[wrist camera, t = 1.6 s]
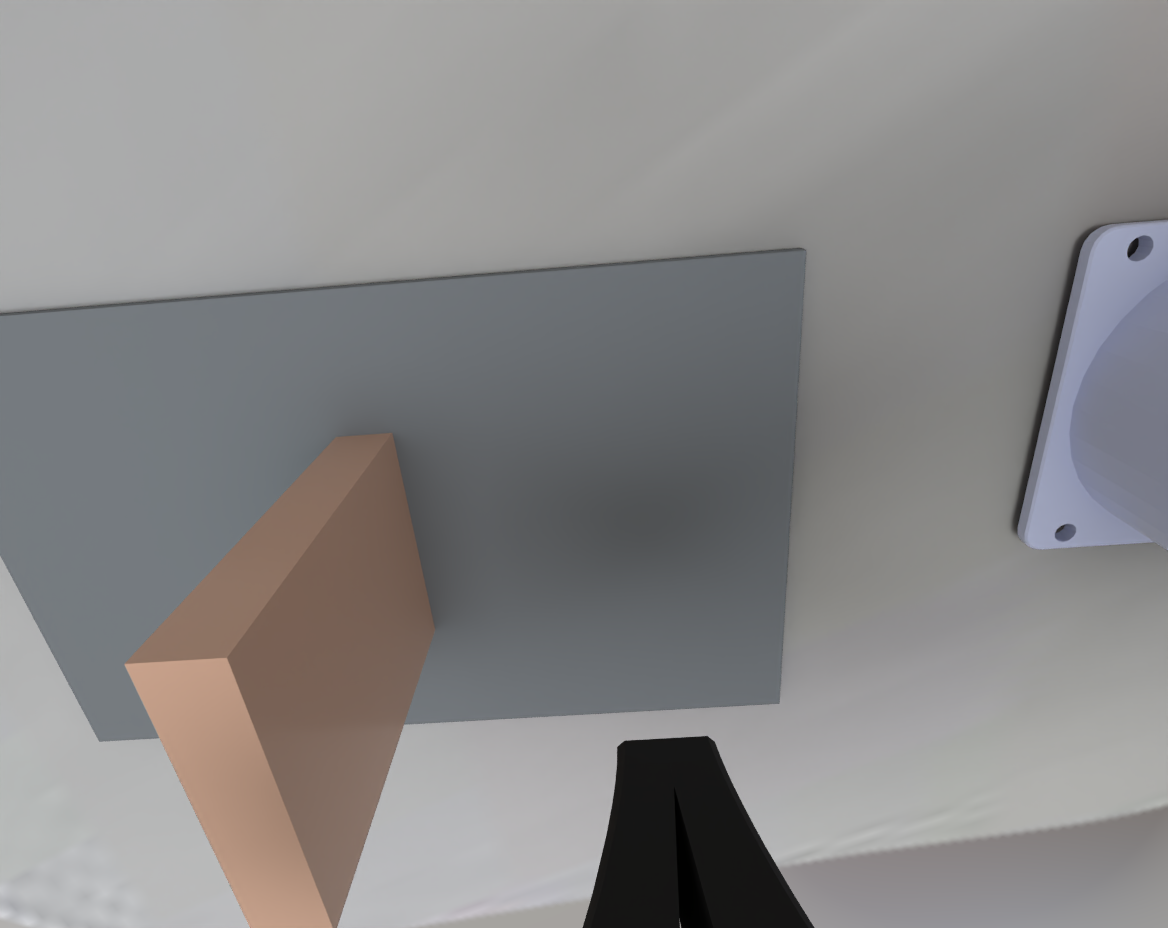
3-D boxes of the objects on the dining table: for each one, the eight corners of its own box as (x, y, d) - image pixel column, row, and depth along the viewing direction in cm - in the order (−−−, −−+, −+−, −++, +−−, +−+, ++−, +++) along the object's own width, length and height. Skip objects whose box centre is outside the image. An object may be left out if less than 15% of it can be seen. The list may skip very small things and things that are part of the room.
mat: (800, 248, 14) (805, 250, 14) (775, 693, 20) (779, 703, 19) (-105, 322, 15) (-122, 326, 15) (107, 731, 21) (99, 741, 20)
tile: (392, 432, 16) (227, 658, 9) (434, 629, 18) (334, 933, 11) (328, 437, 16) (110, 664, 9) (379, 633, 18) (243, 937, 11)
